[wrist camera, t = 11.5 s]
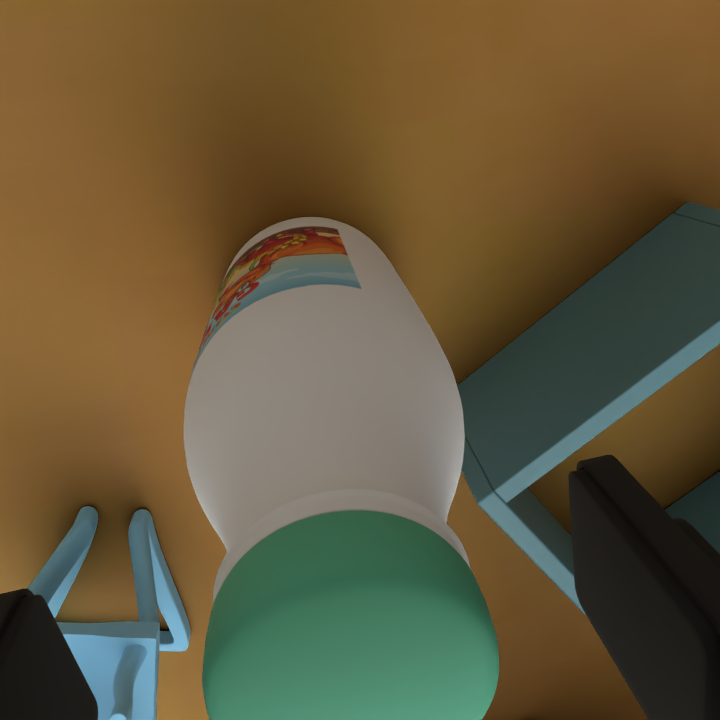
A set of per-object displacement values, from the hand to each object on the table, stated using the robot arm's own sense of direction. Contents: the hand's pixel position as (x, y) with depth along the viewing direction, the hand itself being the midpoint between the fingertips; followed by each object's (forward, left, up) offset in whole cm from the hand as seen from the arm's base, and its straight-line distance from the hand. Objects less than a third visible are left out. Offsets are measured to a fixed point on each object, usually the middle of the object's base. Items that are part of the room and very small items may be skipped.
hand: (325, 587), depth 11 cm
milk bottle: (0, 0, -18) cm, 18 cm away
